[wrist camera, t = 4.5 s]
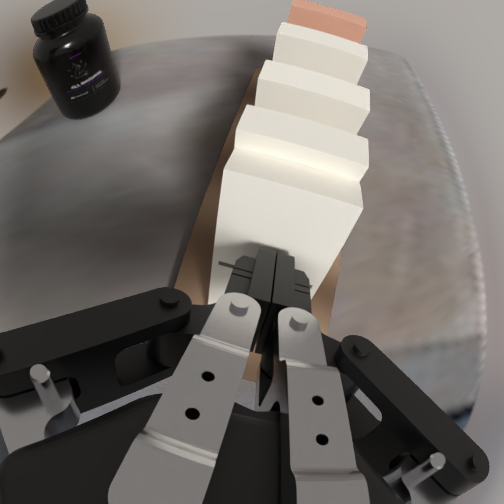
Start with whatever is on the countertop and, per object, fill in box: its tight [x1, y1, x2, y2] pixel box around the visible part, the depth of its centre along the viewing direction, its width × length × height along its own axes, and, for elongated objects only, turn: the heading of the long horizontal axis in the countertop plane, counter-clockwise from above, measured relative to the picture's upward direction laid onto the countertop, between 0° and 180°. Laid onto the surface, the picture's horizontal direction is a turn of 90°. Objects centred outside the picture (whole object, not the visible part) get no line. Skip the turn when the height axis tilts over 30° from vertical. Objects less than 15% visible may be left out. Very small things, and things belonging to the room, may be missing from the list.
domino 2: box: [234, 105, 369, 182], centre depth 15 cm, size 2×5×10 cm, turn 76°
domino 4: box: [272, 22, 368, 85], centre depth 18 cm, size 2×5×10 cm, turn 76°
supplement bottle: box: [31, 0, 120, 119], centre depth 19 cm, size 7×7×12 cm
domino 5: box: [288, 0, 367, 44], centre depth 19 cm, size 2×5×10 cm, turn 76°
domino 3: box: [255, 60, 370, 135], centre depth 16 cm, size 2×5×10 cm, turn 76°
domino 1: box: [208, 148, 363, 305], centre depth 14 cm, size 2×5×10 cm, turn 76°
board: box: [174, 67, 343, 382], centre depth 22 cm, size 26×10×1 cm, turn 166°
